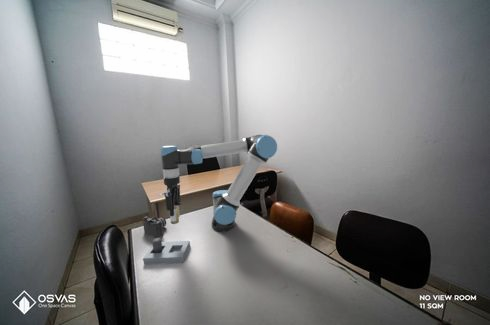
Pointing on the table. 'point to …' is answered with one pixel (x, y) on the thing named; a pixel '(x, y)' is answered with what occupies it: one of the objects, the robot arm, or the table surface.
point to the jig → (166, 252)
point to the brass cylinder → (176, 216)
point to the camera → (154, 226)
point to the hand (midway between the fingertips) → (175, 218)
